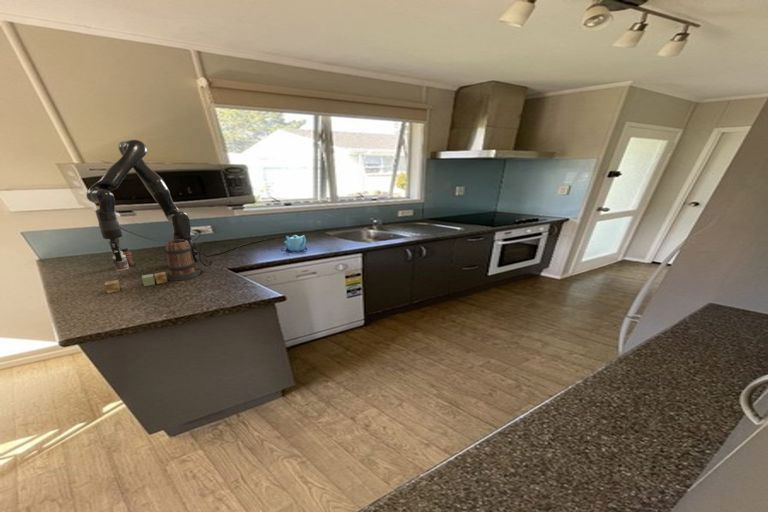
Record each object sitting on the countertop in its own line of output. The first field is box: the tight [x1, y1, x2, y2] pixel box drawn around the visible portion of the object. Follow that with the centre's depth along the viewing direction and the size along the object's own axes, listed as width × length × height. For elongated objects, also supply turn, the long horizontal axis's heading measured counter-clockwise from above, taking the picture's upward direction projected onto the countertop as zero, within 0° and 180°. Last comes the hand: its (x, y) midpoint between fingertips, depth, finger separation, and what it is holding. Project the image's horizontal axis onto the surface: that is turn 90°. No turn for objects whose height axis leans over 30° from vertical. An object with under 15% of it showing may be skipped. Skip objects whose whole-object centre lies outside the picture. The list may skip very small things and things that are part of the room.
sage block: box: [141, 273, 156, 287], centre depth 152 cm, size 5×5×5 cm
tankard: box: [164, 239, 213, 281], centre depth 164 cm, size 24×17×20 cm
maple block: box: [154, 271, 168, 285], centre depth 155 cm, size 5×5×5 cm
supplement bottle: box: [121, 247, 135, 267], centre depth 175 cm, size 6×6×11 cm
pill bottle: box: [112, 251, 130, 272], centre depth 151 cm, size 5×5×10 cm
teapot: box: [283, 234, 307, 252], centre depth 215 cm, size 15×15×11 cm
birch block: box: [104, 279, 121, 294], centre depth 143 cm, size 5×5×5 cm
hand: (119, 259), depth 151 cm, fingers closed on pill bottle, 5 cm apart
